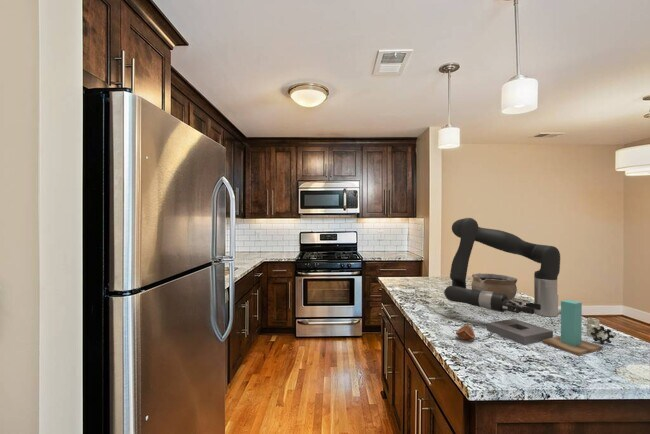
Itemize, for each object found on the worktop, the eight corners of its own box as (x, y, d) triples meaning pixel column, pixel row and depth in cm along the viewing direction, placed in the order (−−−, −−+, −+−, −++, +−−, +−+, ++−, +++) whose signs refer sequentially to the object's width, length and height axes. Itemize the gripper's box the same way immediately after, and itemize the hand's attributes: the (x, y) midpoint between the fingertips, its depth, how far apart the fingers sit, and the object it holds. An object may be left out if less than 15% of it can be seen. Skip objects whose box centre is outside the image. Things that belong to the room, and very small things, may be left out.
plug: (567, 340, 118) (567, 299, 118) (581, 344, 114) (581, 302, 114) (560, 341, 116) (560, 300, 116) (574, 346, 112) (574, 303, 112)
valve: (581, 332, 129) (591, 343, 118) (581, 316, 129) (591, 325, 118) (601, 335, 126) (614, 346, 115) (601, 318, 126) (614, 328, 115)
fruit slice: (472, 345, 115) (473, 331, 115) (453, 341, 119) (453, 327, 119) (476, 337, 122) (476, 325, 122) (458, 334, 126) (458, 321, 126)
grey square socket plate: (513, 325, 136) (513, 318, 136) (552, 338, 121) (552, 330, 121) (486, 330, 130) (486, 323, 130) (524, 344, 115) (524, 336, 115)
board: (565, 337, 123) (565, 334, 123) (602, 349, 112) (602, 346, 112) (541, 342, 117) (541, 340, 117) (577, 355, 106) (577, 352, 106)
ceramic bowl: (462, 299, 179) (462, 273, 179) (493, 297, 186) (493, 271, 186) (494, 310, 158) (494, 280, 158) (527, 307, 164) (527, 278, 165)
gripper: (486, 294, 129) (532, 302, 118) (499, 289, 139) (542, 296, 127) (486, 313, 129) (532, 323, 117) (499, 306, 139) (542, 315, 127)
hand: (537, 309), depth 122 cm, fingers open, 8 cm apart
